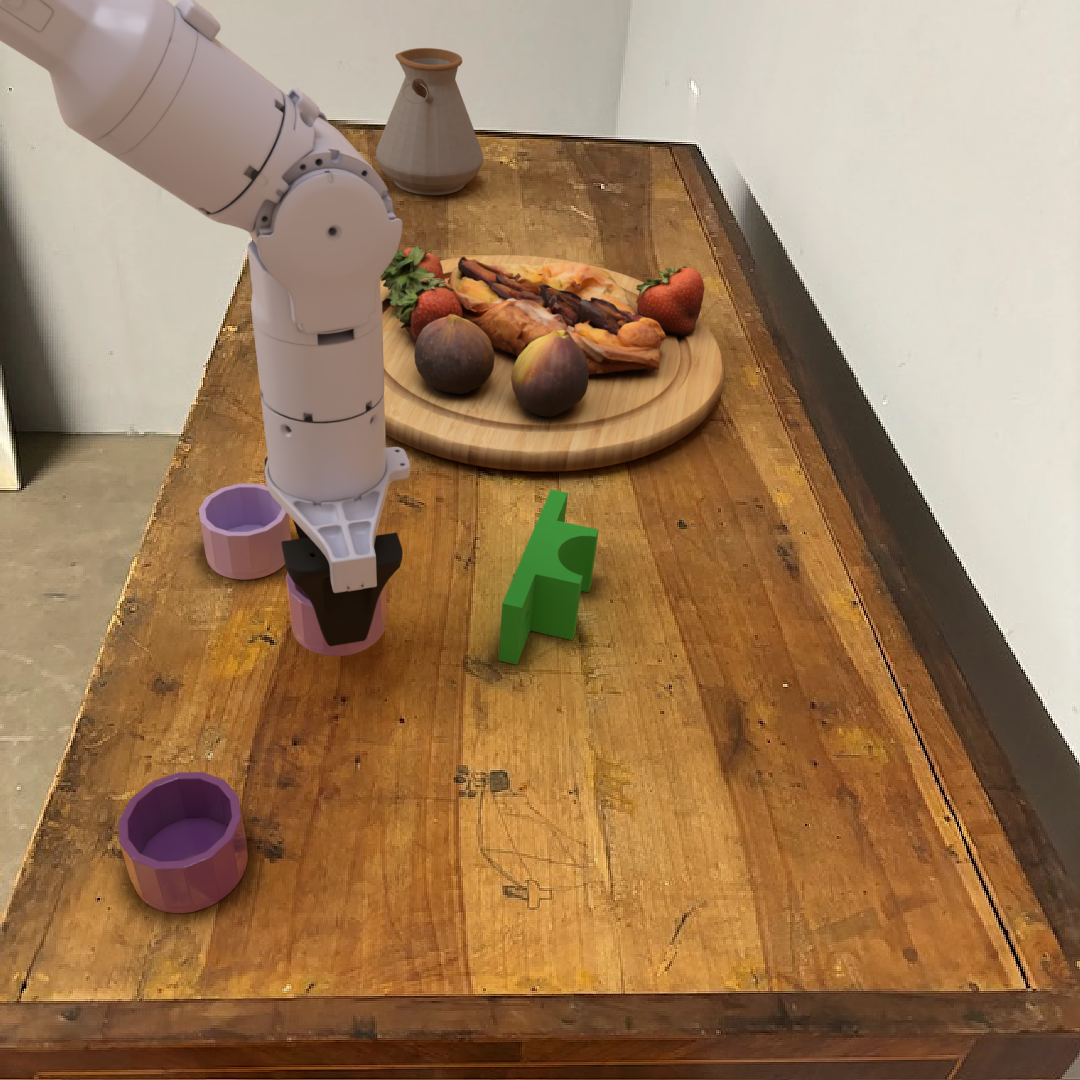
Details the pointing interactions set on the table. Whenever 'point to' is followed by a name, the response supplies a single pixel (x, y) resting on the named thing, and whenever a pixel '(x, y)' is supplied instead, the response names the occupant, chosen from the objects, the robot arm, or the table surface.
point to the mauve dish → (309, 629)
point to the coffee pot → (429, 127)
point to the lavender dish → (244, 531)
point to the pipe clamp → (548, 580)
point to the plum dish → (184, 841)
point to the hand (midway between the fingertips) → (337, 602)
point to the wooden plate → (542, 360)
